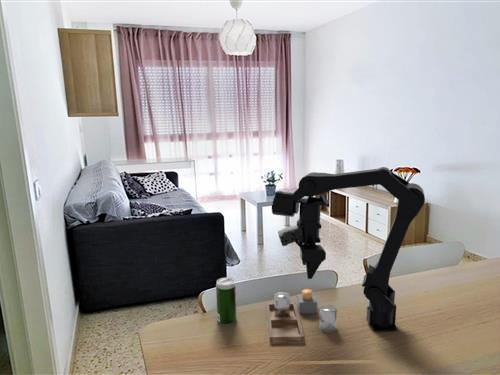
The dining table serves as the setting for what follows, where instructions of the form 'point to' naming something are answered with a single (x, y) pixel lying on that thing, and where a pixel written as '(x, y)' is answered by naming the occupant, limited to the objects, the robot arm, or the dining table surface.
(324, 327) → the billet
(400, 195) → the robot arm
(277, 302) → the seated billet
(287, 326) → the pallet
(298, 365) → the dining table surface
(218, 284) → the green soda can
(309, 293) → the button
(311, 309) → the grey square block
